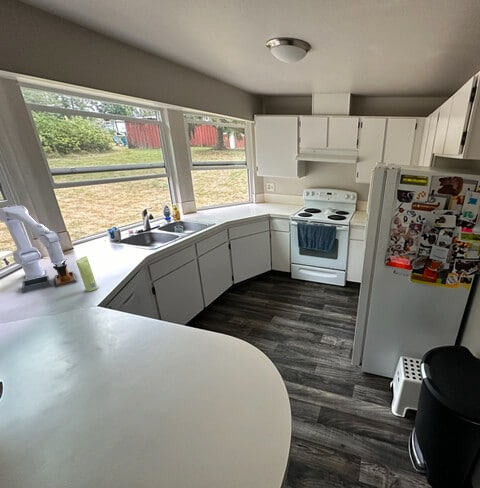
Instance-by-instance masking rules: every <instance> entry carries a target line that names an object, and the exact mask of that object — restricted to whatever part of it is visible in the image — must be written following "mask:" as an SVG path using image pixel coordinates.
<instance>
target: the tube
mask: <svg viewBox="0 0 480 488" xmlns="http://www.w3.org/2000/svg"><path fill="white" fill-rule="evenodd" d="M75 263H76V267H77V268H78V271H79V274H80V278H81V280H82V283H83V286H84V288H85V291H86V292H92V291H96V290H97V289H98V285H97V282H96V280H95V276H94V272H93V271H92V267H91V264H90V261H89V258H88V256H87V255H85V256H82V257H81V258H78V259H77V260H75Z"/></svg>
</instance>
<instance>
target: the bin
mask: <svg viewBox="0 0 480 488" xmlns="http://www.w3.org/2000/svg"><path fill="white" fill-rule="evenodd" d="M51 283H52V282H51V278H50V276H49V275H43V276H38V277H34V278H29V279H25V280H22V283H21V284H22V285H21V289H22V291H23V293H27V292H32V291H37V290H40V289H45V288H48V287H51V286H52V284H51Z"/></svg>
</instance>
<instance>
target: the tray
mask: <svg viewBox="0 0 480 488" xmlns="http://www.w3.org/2000/svg"><path fill="white" fill-rule="evenodd" d="M68 272H69V275H70V278H71V279H70V280H67V281H60V278H59V275H58V274H55V275H54V282H55V286H56V287H62V286H65V285H70V284H74V283H77V280H76V276H75V273H74V271H68Z"/></svg>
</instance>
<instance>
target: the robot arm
mask: <svg viewBox="0 0 480 488" xmlns="http://www.w3.org/2000/svg"><path fill="white" fill-rule="evenodd" d="M20 222H21V223H23V224H25V225H26V226H28V227H29V230H30V232H32V233H33V234H34V235H36V237H38V238H39V241H40V243H41V244H42V245H43V247H44V248H45V249H46V251H47V254H48V257H49V258H50V263H51V264H53V265H54V266H52V269H54V270H55V271H56V272H57V271H58V273H59V274H60V275H61V277H62V276H66V268H67V266H68V264H66V261H68V260H69V258H68V257H65V255H64V251H63V249H62V246H61V244H60V241H61V236H60V234H59V233H58V232H56V231H53V230H50V229H49V228H47V227H46V226H45V225H43V224H42V223H38V222H37V221H35V219H33V217H32V216H31V215H29V211H28V209H27V208H26V207H25V206H24V205H21V204H19V205H13V206H7V207H0V223H4V224H5V226H6V228H7V230H8V232H9V234H10V236H11V238H12V240H13V242H14V244H15V247H16V249H15V250H14V251H13V252H12V256H13V261H14V262H15V263H16V264H17V265H19V266H21V267H22V270H23V272H24V275H25V278H24V279H25V280H30V279H35V278H39V277H44V276H46V275H45V273H46V272H45V269H43V268H42V265H41V263H40V261H41V259H42V254H41V252H40V251H39V250H38V248H37V247H34V246H30V243H29V241H28V239H27V237H26V235H25V233H24V230H23V228H22V226H21V223H20ZM62 264H63V265H62ZM58 273H57V274H58Z"/></svg>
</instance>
